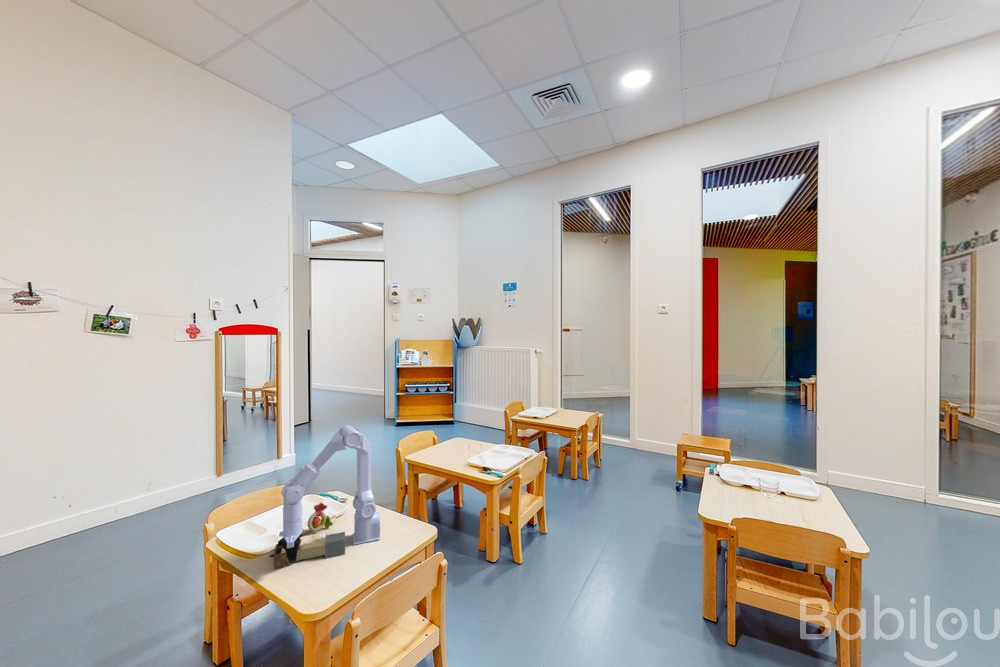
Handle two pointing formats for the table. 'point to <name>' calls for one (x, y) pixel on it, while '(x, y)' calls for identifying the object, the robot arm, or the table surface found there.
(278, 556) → the socket
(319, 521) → the bird rattle
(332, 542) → the sleeve
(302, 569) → the table surface
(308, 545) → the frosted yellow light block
